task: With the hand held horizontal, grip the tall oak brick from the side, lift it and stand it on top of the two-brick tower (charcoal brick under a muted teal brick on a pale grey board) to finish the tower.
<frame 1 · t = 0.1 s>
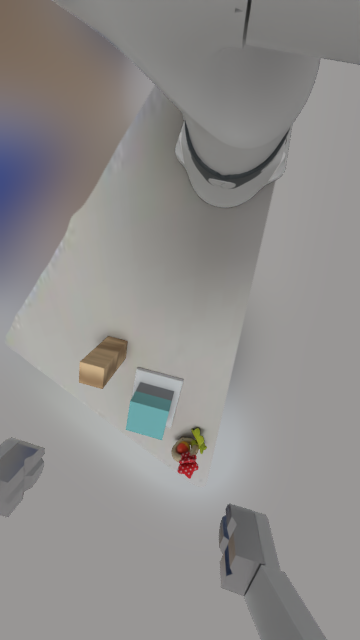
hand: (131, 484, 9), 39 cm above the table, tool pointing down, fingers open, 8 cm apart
bird rattle: (190, 435, 60), on the table
brick tower: (155, 397, 57), on the table
oak brick: (117, 347, 53), on the table
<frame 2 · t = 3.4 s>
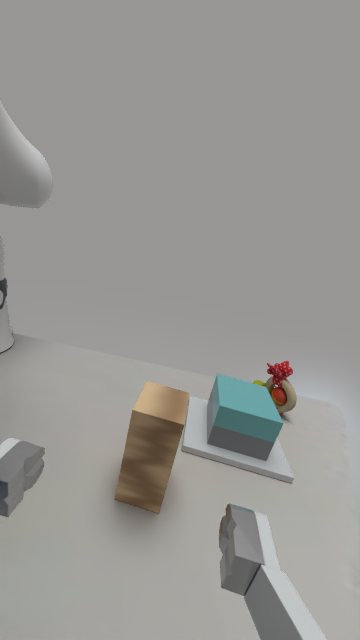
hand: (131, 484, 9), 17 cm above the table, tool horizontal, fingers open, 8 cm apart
bird rattle: (269, 406, 47), on the table
brick tower: (231, 434, 36), on the table
oak brick: (143, 483, 25), on the table
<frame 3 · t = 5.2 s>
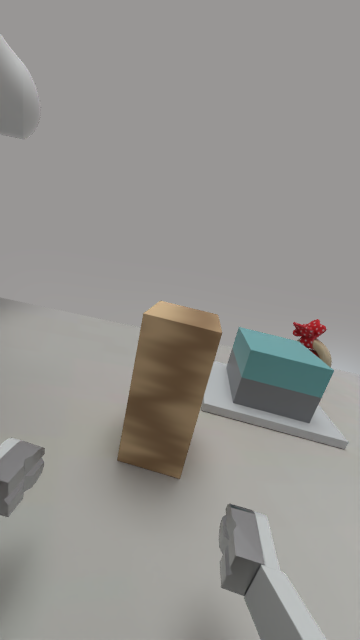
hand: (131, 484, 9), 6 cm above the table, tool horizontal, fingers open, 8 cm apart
bird rattle: (295, 374, 40), on the table
brick tower: (259, 397, 29), on the table
oak brick: (155, 443, 19), on the table
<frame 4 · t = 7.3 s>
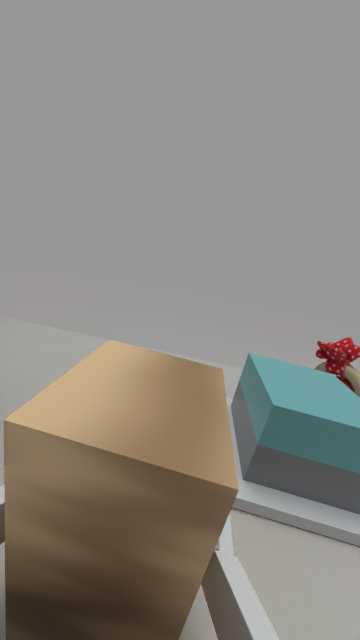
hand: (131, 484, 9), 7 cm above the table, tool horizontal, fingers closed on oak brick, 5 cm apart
bird rattle: (318, 407, 32), on the table
brick tower: (278, 456, 21), on the table
oak brick: (103, 604, 10), on the table, touching gripper
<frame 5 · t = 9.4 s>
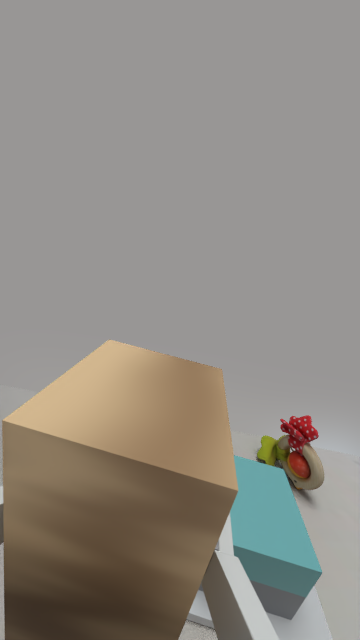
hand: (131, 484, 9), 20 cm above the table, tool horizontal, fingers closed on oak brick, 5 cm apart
bird rattle: (283, 474, 35), on the table
brick tower: (232, 547, 24), on the table
oak brick: (103, 605, 10), point 13 cm above the table, touching gripper
when the fingers open (16 cm above the table, at t = 11.7 s): oak brick drops 1 cm, resting on brick tower.
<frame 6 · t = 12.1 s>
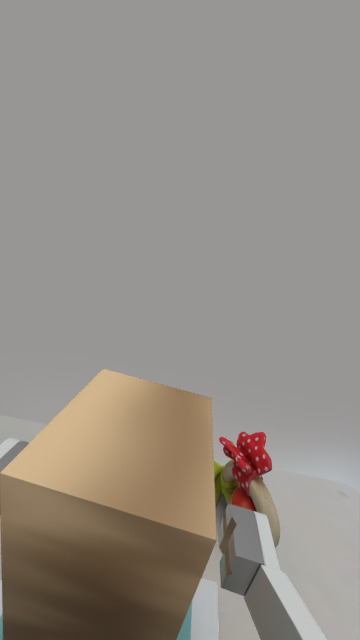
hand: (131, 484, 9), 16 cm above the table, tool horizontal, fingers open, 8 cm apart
bird rattle: (229, 517, 23), on the table
oak brick: (98, 622, 10), point 8 cm above the table, touching brick tower
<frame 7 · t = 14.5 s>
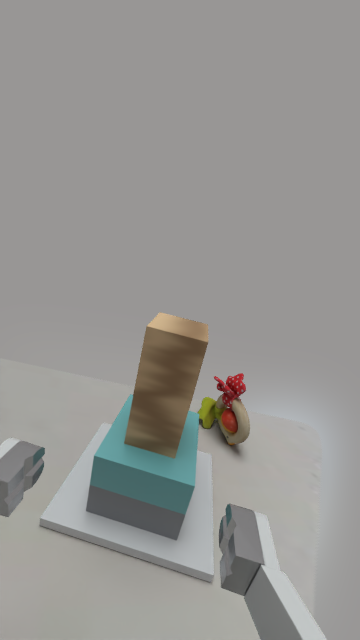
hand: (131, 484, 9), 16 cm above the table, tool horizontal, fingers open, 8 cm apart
bird rattle: (220, 432, 36), on the table
brick tower: (142, 485, 25), on the table
oak brick: (155, 431, 22), point 8 cm above the table, touching brick tower
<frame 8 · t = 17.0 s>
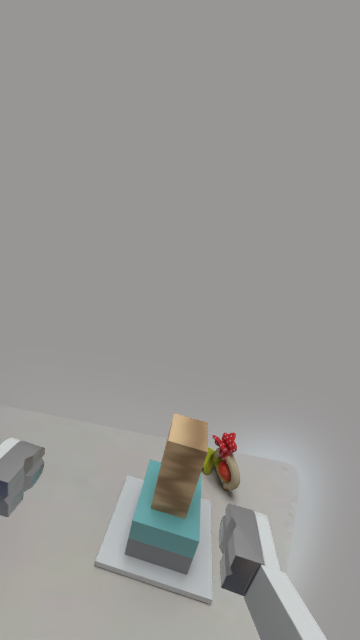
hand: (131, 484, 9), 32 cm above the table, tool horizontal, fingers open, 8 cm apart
bird rattle: (218, 477, 45), on the table
brick tower: (160, 530, 34), on the table
oak brick: (170, 494, 32), point 8 cm above the table, touching brick tower
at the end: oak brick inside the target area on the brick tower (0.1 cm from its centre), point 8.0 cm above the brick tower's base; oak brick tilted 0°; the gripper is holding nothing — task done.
